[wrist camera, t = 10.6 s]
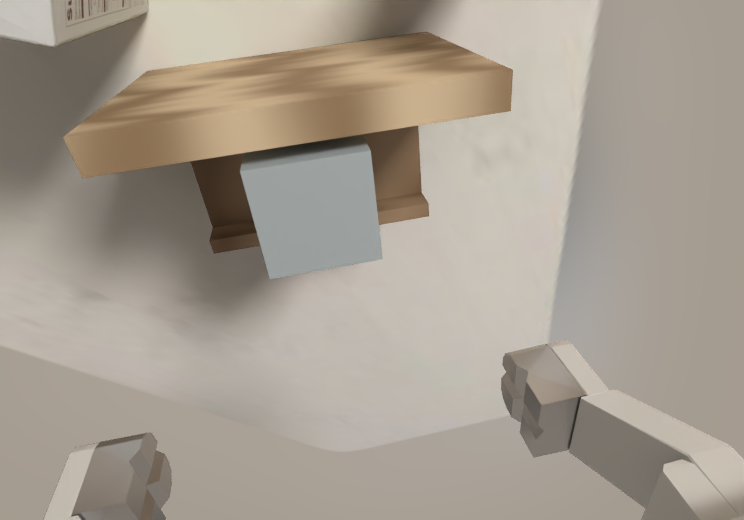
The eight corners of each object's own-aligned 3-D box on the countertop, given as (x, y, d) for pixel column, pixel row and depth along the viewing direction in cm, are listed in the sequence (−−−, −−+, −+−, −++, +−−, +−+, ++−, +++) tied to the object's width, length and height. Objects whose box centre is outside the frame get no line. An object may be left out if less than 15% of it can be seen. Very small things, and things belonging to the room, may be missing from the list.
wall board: (194, 207, 30) (153, 325, 20) (147, 71, 26) (62, 137, 16) (431, 168, 32) (501, 261, 22) (426, 31, 27) (512, 69, 17)
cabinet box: (276, 224, 27) (275, 297, 21) (250, 120, 23) (239, 171, 17) (362, 210, 27) (384, 277, 21) (348, 105, 24) (370, 150, 18)
